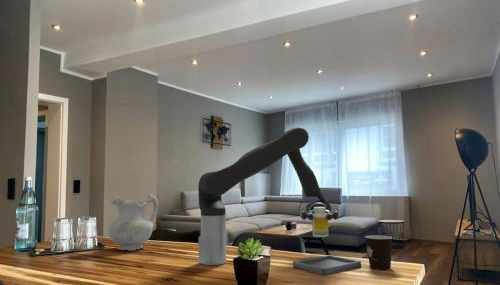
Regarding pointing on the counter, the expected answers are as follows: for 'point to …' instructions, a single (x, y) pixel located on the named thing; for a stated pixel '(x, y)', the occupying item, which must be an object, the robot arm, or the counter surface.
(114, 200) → the ceramic pitcher
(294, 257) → the counter surface
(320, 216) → the supplement bottle
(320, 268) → the tray
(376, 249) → the coffee mug
